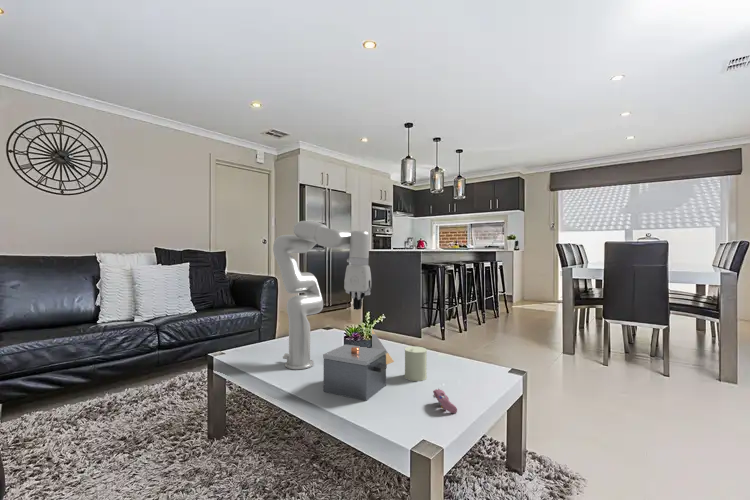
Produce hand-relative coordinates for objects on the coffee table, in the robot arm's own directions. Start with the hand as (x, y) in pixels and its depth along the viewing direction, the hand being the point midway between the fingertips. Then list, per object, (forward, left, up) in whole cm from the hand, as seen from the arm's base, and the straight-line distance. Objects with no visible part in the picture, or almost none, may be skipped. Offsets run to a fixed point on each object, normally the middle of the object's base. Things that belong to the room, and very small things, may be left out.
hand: (357, 308), depth 141 cm
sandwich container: (-6, +30, -30) cm, 43 cm away
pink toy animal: (+36, -6, -30) cm, 47 cm away
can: (+18, +17, -30) cm, 39 cm away
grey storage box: (+3, -5, -29) cm, 30 cm away
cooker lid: (+2, -5, -17) cm, 18 cm away
